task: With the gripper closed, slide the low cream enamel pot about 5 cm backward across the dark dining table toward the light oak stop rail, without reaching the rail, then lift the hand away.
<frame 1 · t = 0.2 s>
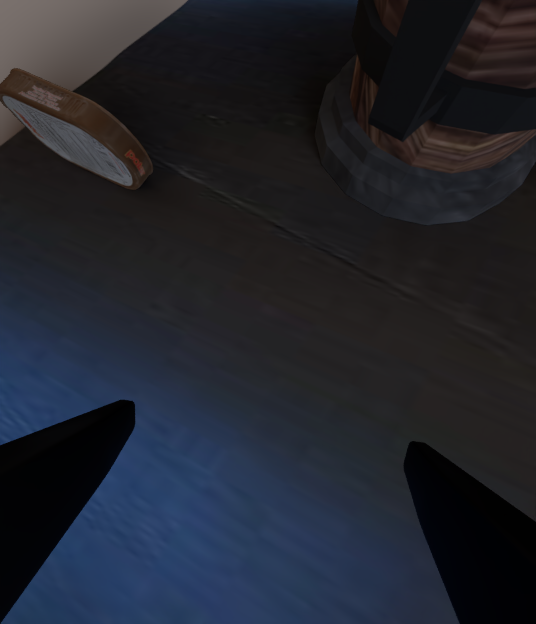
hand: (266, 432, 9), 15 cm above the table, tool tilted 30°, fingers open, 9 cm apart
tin: (104, 171, 31), on the table
wooden beer tankard: (401, 156, 32), on the table
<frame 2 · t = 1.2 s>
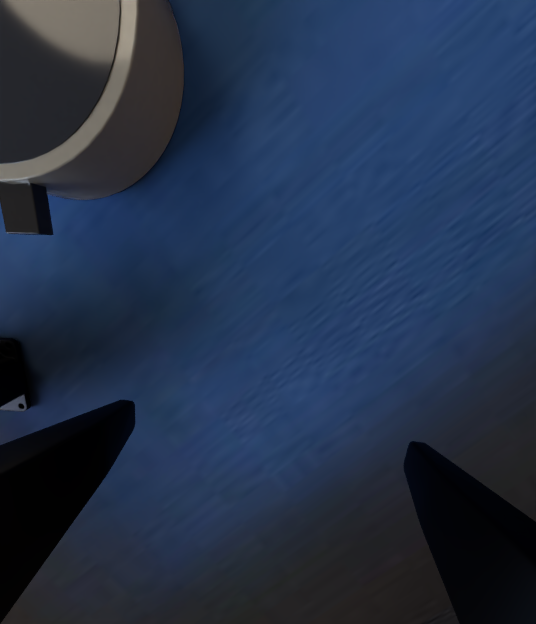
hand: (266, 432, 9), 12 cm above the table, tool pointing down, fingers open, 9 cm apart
pot: (64, 69, 17), on the table
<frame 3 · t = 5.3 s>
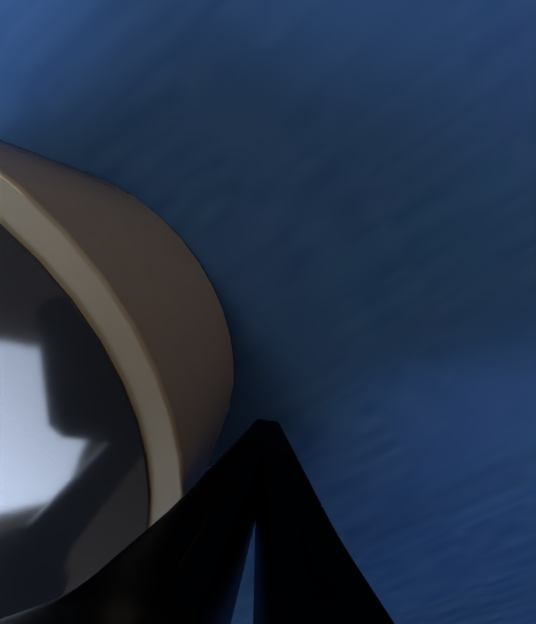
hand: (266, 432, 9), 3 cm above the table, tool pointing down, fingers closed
pot: (57, 358, 12), on the table, touching gripper
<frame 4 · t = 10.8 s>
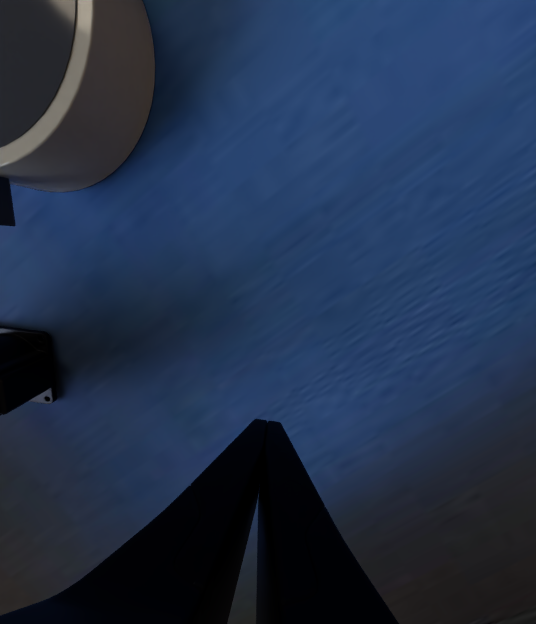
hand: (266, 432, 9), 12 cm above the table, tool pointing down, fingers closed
pot: (38, 61, 17), on the table
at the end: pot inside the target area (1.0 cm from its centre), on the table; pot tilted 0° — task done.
